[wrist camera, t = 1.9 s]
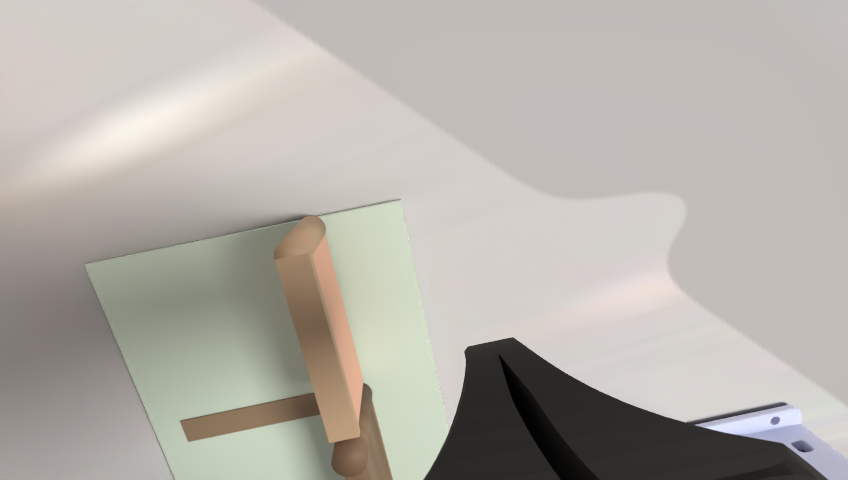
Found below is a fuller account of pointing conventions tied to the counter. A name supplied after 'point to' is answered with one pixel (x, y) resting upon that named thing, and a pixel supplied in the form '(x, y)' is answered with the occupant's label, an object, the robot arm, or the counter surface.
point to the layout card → (272, 350)
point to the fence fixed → (362, 448)
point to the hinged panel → (321, 326)
